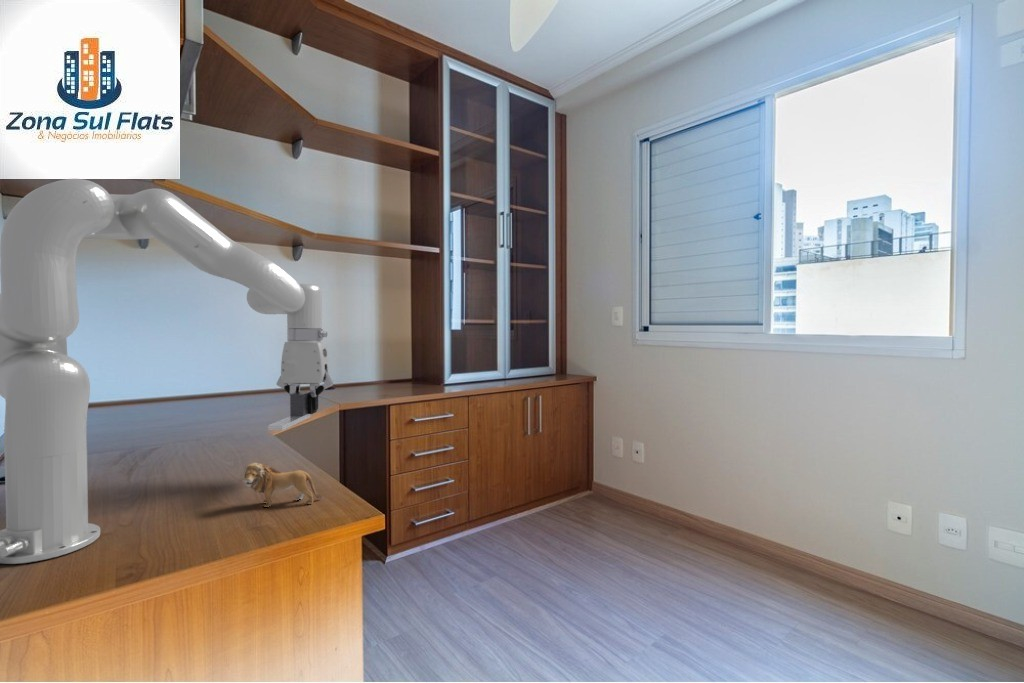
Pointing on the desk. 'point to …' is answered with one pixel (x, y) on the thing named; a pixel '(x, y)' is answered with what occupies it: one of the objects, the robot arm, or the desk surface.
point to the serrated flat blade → (294, 411)
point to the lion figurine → (277, 481)
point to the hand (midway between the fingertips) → (305, 412)
